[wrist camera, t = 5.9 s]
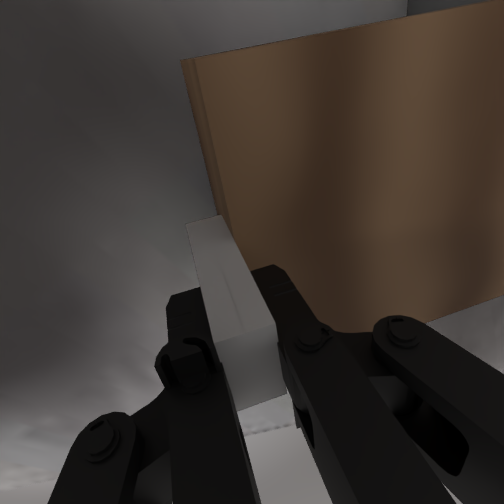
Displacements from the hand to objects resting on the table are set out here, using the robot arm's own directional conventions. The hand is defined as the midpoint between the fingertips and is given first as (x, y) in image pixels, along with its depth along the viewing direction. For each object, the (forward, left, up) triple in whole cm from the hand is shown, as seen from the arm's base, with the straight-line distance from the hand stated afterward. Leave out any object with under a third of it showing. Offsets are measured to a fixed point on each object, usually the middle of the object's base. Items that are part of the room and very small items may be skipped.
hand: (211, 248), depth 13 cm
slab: (+11, 0, -2) cm, 11 cm away
